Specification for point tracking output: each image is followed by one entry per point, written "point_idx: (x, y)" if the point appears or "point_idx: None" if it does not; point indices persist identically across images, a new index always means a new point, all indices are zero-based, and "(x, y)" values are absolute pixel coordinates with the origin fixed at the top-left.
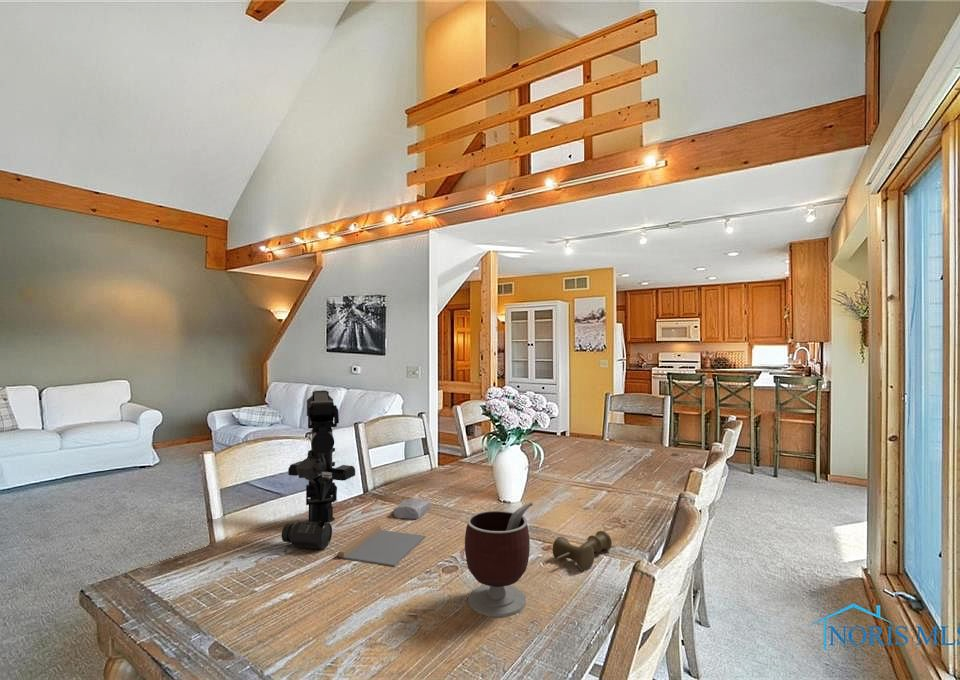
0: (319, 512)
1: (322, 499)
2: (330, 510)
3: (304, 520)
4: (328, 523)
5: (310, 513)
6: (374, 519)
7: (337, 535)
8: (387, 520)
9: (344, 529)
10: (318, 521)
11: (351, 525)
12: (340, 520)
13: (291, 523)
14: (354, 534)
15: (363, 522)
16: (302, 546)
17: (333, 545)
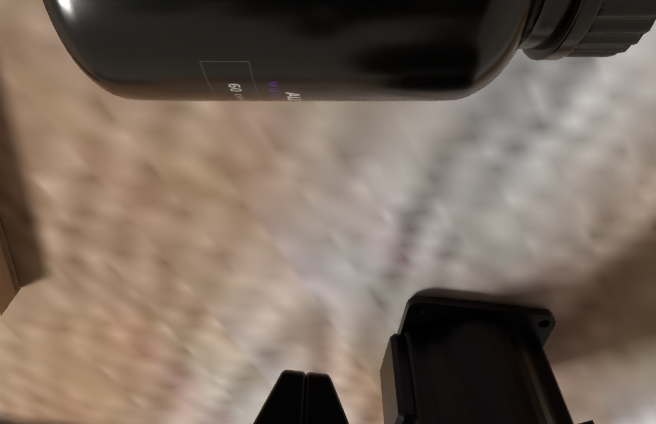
0: (460, 382)
1: (272, 396)
2: (390, 415)
3: (423, 24)
4: (56, 28)
5: (540, 381)
6: (150, 406)
7: (223, 187)
8: (69, 404)
9: (237, 277)
10: (192, 19)
11: (230, 330)
12: (341, 377)
13: (614, 11)
14: (114, 219)
15: (185, 371)
16: None
17: None
